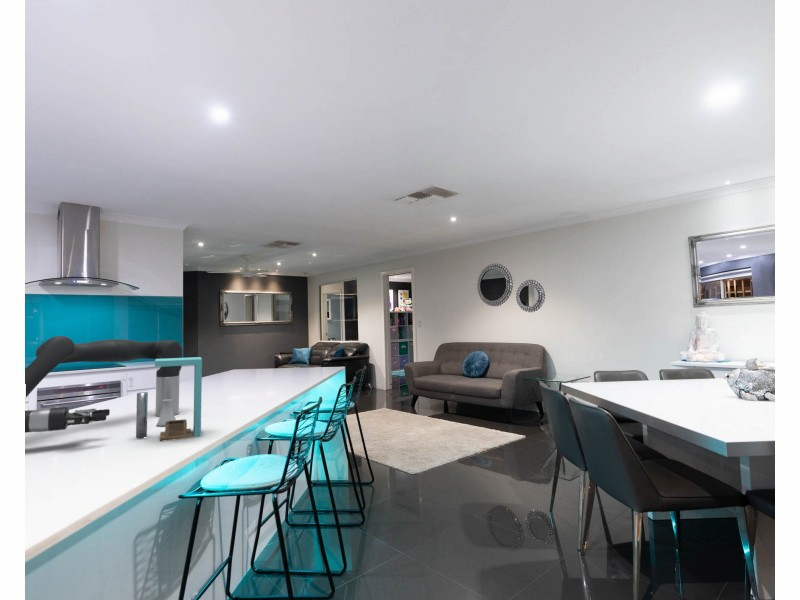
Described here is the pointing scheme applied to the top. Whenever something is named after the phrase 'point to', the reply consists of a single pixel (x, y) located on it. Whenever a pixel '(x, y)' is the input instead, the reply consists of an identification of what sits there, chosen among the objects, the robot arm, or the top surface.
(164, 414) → the flask
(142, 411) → the peg
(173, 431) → the socket
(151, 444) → the top surface
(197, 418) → the teal angle bracket
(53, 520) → the top surface
